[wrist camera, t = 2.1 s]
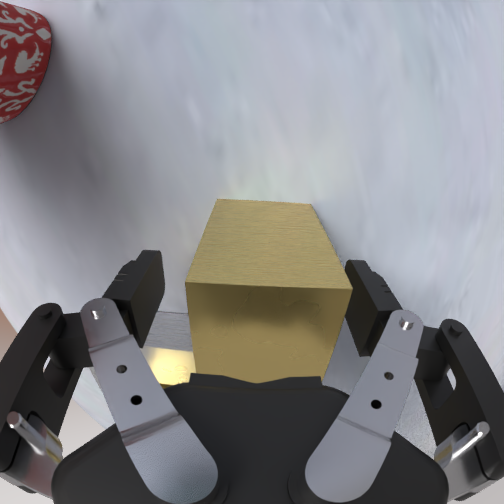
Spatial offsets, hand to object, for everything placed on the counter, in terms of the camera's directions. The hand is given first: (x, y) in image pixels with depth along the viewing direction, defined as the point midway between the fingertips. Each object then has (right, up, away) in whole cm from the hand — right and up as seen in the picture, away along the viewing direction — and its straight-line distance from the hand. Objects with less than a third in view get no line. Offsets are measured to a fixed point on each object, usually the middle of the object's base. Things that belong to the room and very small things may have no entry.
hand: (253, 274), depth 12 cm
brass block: (0, +1, +3) cm, 3 cm away
